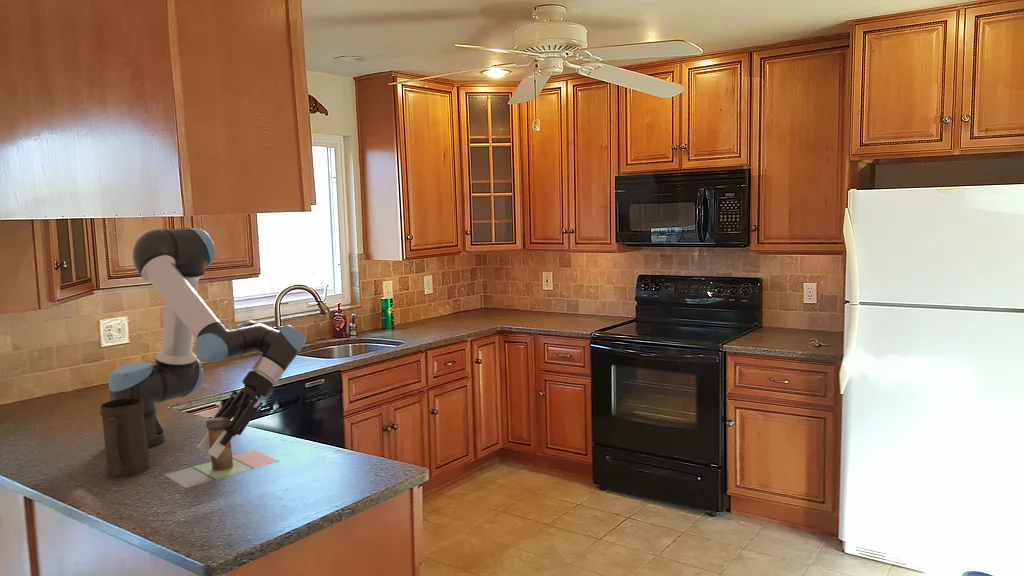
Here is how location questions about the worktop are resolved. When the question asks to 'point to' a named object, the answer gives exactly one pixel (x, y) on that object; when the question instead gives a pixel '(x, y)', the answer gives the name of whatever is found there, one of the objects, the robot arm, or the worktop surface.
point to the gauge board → (206, 473)
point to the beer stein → (125, 437)
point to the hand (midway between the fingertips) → (206, 452)
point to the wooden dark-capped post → (215, 431)
